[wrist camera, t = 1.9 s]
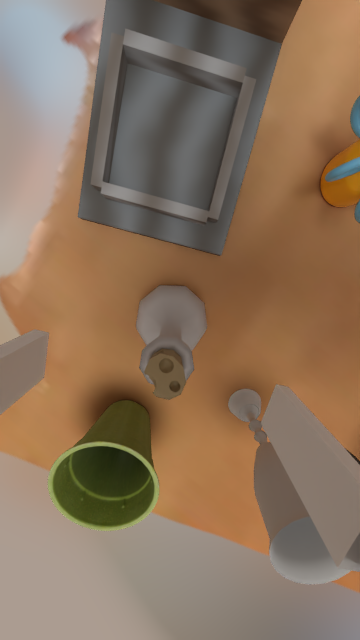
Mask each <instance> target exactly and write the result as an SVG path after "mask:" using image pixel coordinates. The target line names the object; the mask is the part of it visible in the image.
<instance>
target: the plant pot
mask: <svg viewBox="0 0 360 640" xmlns="http://www.w3.org/2000/svg"><path fill="white" fill-rule="evenodd" d="M48 490H49V494H50V497H51V500H52V502H53V503H54V505H55V507H56V508H57V509H58V510H59V511H60V512H61V513H62V514H63V515H64V516H65V517H66V518H68V519H69V520H71V521H72V522H74V523H76V524H78V525H80V526H83V527H86V528H89V529H94V530H101V531H113V530H120V529H124V528H128V527H131V526H133V525H135V524H137V523H139V522H140V521H142V520H143V519H144V518H145V517H147V516H148V515H149V514H150V512H151V511H152V510H153V508H154V507H155V505H156V503H157V500H158V496H159V481H158V477H157V474H156V472H155V470H154V465H153V460H152V454H151V434H150V418H149V414H148V412H147V411H146V409H145V408H144V407H143V406H141V405H139V404H137V403H135V402H134V401H130V400H121V401H118V402H115V403H113V404H111V405H110V406H109V407H108V408H107V409H106V410H105V412H104V413H103V414H102V415H101V417H100V418H99V419H98V420H97V421H96V423H95V424H94V425H93V426H92V427H91V429H90V430H89V431H88V432H87V433H86V435H85V436H84V437H83V438H82V439H81V440H80V441H78V442H77V443H76V444H75V445H74V447H72V448H70V449H69V450H67V451H66V452H64V453H63V454H62V455H61V456H60V457H59V458H58V459H57V460H56V461H55V463H54V464H53V466H52V468H51V470H50V472H49V477H48Z"/></svg>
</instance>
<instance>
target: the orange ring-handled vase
mask: <svg viewBox="0 0 360 640" xmlns="http://www.w3.org/2000/svg"><path fill="white" fill-rule="evenodd" d="M350 122H351V127H352V129H353V131H354V133H355V134H356V136H358V137H359V138H360V96H359V97H358V98H357V100H356V101H355V103H354V105H353V107H352V110H351V115H350ZM320 186H321V192H322V195H323V197H324V199H325V200H326V201H327V202H328V203H329V204H331V205H333V206H336V207H347V206H351V205H354V204H356V203H357V205H356V208H355V213H354V215H355V219H356V221H357V222H359V223H360V139H359V140H358V141H356V142H355V143H353V144H352V145H351V146H349V147H348V148H346V149H345V150H343V151H342V152H341V153H339V154H338V155H336V156H335V157H334V158H333V159H332V160H331V161H330V162H329V163H328V164H327V166H326V167H325V169H324V171H323V173H322V177H321V183H320Z"/></svg>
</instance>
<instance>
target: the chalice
mask: <svg viewBox="0 0 360 640" xmlns="http://www.w3.org/2000/svg"><path fill="white" fill-rule="evenodd" d="M228 405H229V409H230V411H231V412H232V413H233V414H234V415H235V416H236V417H237V418H239V419H240V420H242V421H246V422H250V424H249V428H250V430H251V431H254V432H255V435H254V438H255V440H256V441H258V442H259V443H260V446H259V447H258V449H257V451H256V458H255V465H254V490H255V496H256V499H257V502H258V505H259V508H260V511H261V514H262V517H263V520H264V523H265V526H266V529H267V532H268V535H269V538H270V545H269V554H270V561H271V563H272V565H273V566H274V568H275V570H276V571H277V572H278V573H279V574H281V575H282V576H283V577H284V578H286V579H289V580H291V581H294V582H296V583H303V584H310V585H311V584H323V583H327V582H330V581H333V580H336V579H339V578H340V577H342V576H344V575H345V574H347V573H349V572H350V571H351V570H345V569H339V568H337V566H336V564H335V562H334V561H333V559H332V557H331V555H330V553H329V551H328V549H327V547H326V545H325V544H324V542H323V540H322V538H321V536H320V534H319V532H318V530H317V529H316V527H315V525H314V523H313V521H312V519H311V517H310V515H309V513H308V512H307V510H306V508H305V506H304V504H303V502H302V500H301V498H300V496H299V495H298V493H297V491H296V489H295V487H294V485H293V483H292V481H291V480H290V478H289V476H288V474H287V472H286V470H285V468H284V466H283V464H282V463H281V461H280V459H279V457H278V455H277V453H276V451H275V449H274V448H273V446H272V444H271V442H267V434H266V433H265V432H264V431H262V430H261V428H262V425H261V422H260V421H258V420H256V419H257V418H258V416H259V415H260V412H261V398H260V396H259V395H258V394H257V393H256V392H255V391H253V390H251V389H240V390H238V391H236V392H235V393H233V394H232V395H231V397H230V399H229V402H228Z"/></svg>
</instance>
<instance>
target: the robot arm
mask: <svg viewBox="0 0 360 640" xmlns="http://www.w3.org/2000/svg"><path fill="white" fill-rule="evenodd" d="M48 338H49V333H48V332H44V331H39V330H32V331H30V332H28V333H26V334H24V335H22V336H19V337H17V338H15V339H13V340H11V341H9V342H6V343H4V344H2V345H0V415H1V414H2V413H3V412H4V411H5V410H7V409H8V408H9V407H10V406H11V405H12V404H14V403H15V402H16V401H17V400H18V399H19V398H21V397H22V396H23V395H24V394H25V393H26V392H28V391H29V390H30V389H31V388H32V387H34V386H35V385H36V384H37V383H38V382H39V381H41V380H42V379H43V378H44V373H45V365H46V356H47V347H48ZM261 425H262V427H263V429H264V431H265V432H266V434H267V436H268V438H269V440H270V442H271V444H272V446H273V448H274V449H275V451H276V453H277V455H278V457H279V459H280V461H281V463H282V464H283V466H284V468H285V470H286V472H287V474H288V476H289V478H290V480H291V481H292V483H293V485H294V487H295V489H296V491H297V493H298V495H299V496H300V498H301V500H302V502H303V504H304V506H305V508H306V510H307V512H308V513H309V515H310V517H311V519H312V521H313V523H314V525H315V527H316V529H317V530H318V532H319V534H320V536H321V538H322V540H323V542H324V544H325V545H326V547H327V549H328V551H329V553H330V555H331V557H332V559H333V561H334V562H335V564H336V566H337V568H339V569H345V570H352V571H358V572H359V571H360V461H359V460H358V459H357V458H356V457H355V456H354V455H353V454H351V453H350V452H349V451H348V450H346V449H345V448H344V447H343V446H342V445H341V444H340V443H339V442H338V441H337V439H336V438H335V437H334V436H333V435H332V434H331V433H330V432H329V431H328V430H327V429H326V427H325V426H324V425H323V424H322V423H321V422H320V421H319V420H318V419H317V418H316V417H315V415H314V414H313V413H312V412H311V411H310V410H309V409H308V408H307V407H306V406H305V405H304V403H303V402H302V401H301V400H300V399H299V398H298V397H297V396H296V395H295V394H294V393H293V391H292V390H291V389H290V388H289V387H286V386H282V385H278V384H276V386H275V388H274V391H273V393H272V396H271V398H270V401H269V403H268V406H267V409H266V411H265V414H264V416H263V419H262V421H261Z"/></svg>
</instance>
